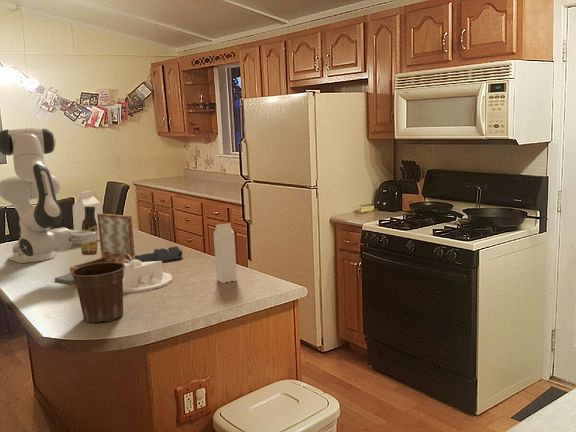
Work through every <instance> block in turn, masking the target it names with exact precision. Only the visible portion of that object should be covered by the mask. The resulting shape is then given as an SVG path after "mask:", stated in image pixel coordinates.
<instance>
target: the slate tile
mask: <svg viewBox="0 0 576 432" xmlns="http://www.w3.org/2000/svg"><path fill="white" fill-rule="evenodd" d="M54 282H58V283H64V284H69V285H72V284H75V282H74V278H73V276H72V275H71V273H70V272H69V273H67V274H64V275H60V276H57V277H54Z"/></svg>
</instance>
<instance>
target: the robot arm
mask: <svg viewBox="0 0 576 432" xmlns="http://www.w3.org/2000/svg"><path fill="white" fill-rule="evenodd" d="M56 144H57V143H56V136H55V134H54V133H53V131H52V130H51V129H48V128H33V127H32V128H30V127H29V128H28V127H26V128H16V129H3V130H1V131H0V153H1V154H2V155H4V156H8V157H9V156H11V157H12V160H13V169H14V172H15V175H16V176H10V177H6V178H4V179H3V178H2V180H0V197H1V198H2V199H3V200H4V201H5V202H7V203H9V204H11V206H13V207H14V208H15V210H16V212H17V214H18V216H19V220H18V226H19V229H20V230H18V232H19V233H18V234H19V235H20V236H19V239H17V241H16V243H15V244H13V246H12V255H9V256H8V257H7V259H8V260H9V261H13V262H16V263H18V264H25V263H34V262H37V263H38V262H43V261H49V260H50V259H54V258H55V257H56V255H57V253H59V252H61V251H67V250H69V249H71V248H72V246H73V245H74V244H78V245H80V244H84V243H89V242H94V241H96V240H97V235H98V231H92V232H91V231H82V230H74V229H68V228H67V227H58V228H53V227H55V226H56V227H57V226H58V225H59V224H60V223H61V221H62V219H63V210H62V208H61V206H60V204H59V202H58V199H57V197H56V196H57V195H58V194H59V191H60V189H61V184H60V180H59V179H58V178H57V176H55V175H54V174H51V173H50V170H49V168H48V167H47V166H46V162H45V157H44V155H47V154H51V153H53V151H55V148H56ZM31 200H37V202H36V204H34V205H33V204H31V202H30V201H31Z"/></svg>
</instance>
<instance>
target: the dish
mask: <svg viewBox="0 0 576 432" xmlns="http://www.w3.org/2000/svg"><path fill="white" fill-rule="evenodd" d="M127 255H128V256H129V257H130V259H131V261H130V260H128V259H125V261H126V262H129V263H123V264H124V265H125V268H124V278H123V294H125V293H139V292H141V291H142V292H148V291H147V290H149V291H152V289H153V290H156V288H157V289H160V288H163V287H166V286H168V285H169V284H171V283H172V282H173V279H172V278H173V275H172V274H170V273H169V272H164V271H163V263H162V261H152V262H141V261H140V260H137V259H135V260H132V258H131V256H130V255H129V254H127ZM171 281H172V282H171ZM170 282H171V283H170ZM165 285H166V286H165ZM162 286H163V287H162Z"/></svg>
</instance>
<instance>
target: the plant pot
mask: <svg viewBox="0 0 576 432" xmlns="http://www.w3.org/2000/svg"><path fill="white" fill-rule="evenodd" d="M124 268H125V265H124V264H122V263H117V262H104V263H95V264H89V265H85V266H81V267H78V268H76V269H74V270H73V271H71V275H72V276H73V278H74V282H75V283H74V285H75V286H76V290H77V294H78V299H79V304H80V308H81V312H82V318H83V320H84V322H86V321H87V322H86V323H89V322H91V323H90V324H98V323H97V322H100V323H101V322H105V321H108V322H110V321H109V320H112V321H114V320H113V319H115V320H117V319H116V318H118V317H119V318H121V317H122V316H123V315H124V293H123V278H124ZM120 316H121V317H120ZM119 318H118V319H119Z"/></svg>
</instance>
